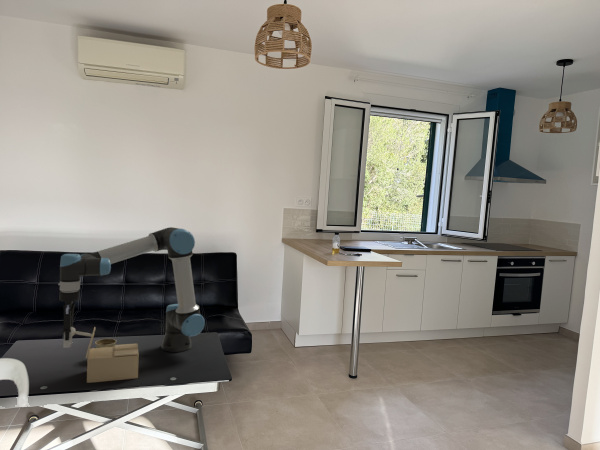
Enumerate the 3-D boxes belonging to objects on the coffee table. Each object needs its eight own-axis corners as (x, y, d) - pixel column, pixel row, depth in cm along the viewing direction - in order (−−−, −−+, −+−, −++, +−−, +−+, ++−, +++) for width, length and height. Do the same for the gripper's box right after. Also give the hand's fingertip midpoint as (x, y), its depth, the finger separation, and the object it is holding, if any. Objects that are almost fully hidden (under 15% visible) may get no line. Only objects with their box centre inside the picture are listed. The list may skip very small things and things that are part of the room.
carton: (137, 366, 203) (138, 343, 202) (137, 378, 190) (138, 353, 189) (89, 370, 195) (90, 346, 195) (86, 382, 182) (87, 356, 182)
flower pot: (108, 363, 204) (108, 345, 203) (90, 361, 206) (90, 343, 205) (120, 357, 213) (120, 339, 213) (102, 354, 215) (103, 337, 215)
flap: (96, 326, 195) (68, 321, 191) (93, 335, 182) (64, 330, 178) (89, 347, 194) (62, 343, 190) (86, 358, 182) (57, 354, 178)
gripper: (62, 287, 190) (60, 339, 191) (56, 295, 175) (54, 352, 176) (81, 286, 193) (79, 338, 194) (77, 294, 177) (75, 351, 178)
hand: (67, 345), depth 185 cm, fingers closed on flap, 4 cm apart
